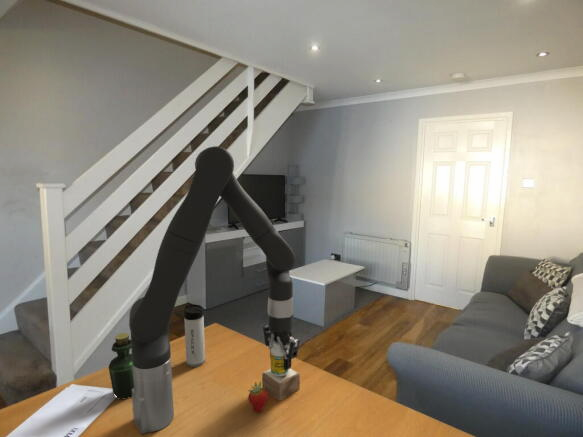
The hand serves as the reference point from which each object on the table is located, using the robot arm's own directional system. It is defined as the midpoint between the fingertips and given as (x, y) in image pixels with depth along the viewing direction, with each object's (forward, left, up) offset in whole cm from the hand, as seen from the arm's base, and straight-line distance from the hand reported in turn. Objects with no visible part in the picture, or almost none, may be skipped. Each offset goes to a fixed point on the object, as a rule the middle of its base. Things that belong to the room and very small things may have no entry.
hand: (280, 364), depth 103 cm
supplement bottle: (0, 0, -2) cm, 2 cm away
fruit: (-11, -3, -8) cm, 14 cm away
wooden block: (0, 0, -8) cm, 8 cm away
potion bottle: (-35, +30, -8) cm, 47 cm away
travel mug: (-12, +31, -8) cm, 34 cm away
